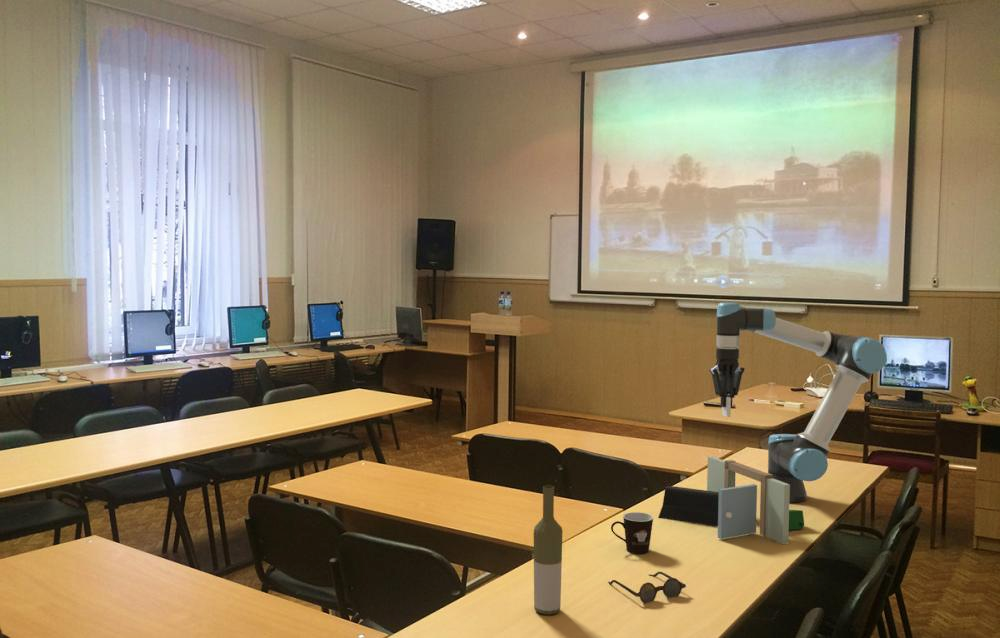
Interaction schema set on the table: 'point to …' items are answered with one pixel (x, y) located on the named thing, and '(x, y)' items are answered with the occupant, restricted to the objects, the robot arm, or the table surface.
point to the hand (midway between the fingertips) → (726, 416)
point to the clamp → (796, 519)
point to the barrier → (690, 506)
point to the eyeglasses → (656, 588)
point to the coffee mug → (636, 532)
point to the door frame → (771, 498)
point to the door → (737, 511)
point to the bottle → (547, 558)
